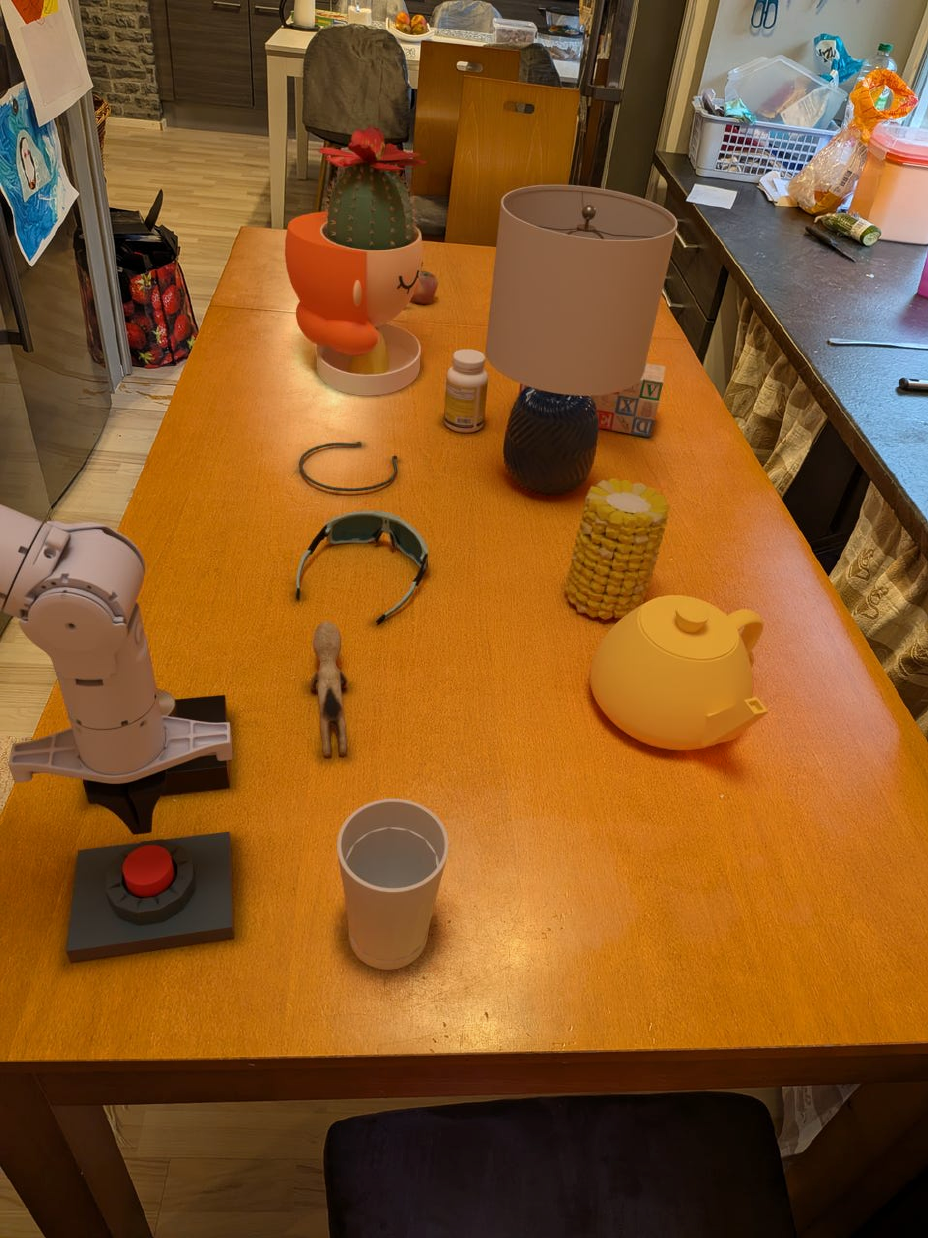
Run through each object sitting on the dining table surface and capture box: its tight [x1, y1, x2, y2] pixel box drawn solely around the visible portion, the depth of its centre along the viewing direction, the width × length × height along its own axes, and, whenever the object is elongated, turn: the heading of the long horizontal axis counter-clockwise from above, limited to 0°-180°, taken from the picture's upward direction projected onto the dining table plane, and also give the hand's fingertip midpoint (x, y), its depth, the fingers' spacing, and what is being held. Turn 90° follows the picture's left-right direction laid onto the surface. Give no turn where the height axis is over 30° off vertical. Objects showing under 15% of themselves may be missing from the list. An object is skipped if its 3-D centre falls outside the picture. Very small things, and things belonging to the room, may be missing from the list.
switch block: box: [65, 831, 235, 963], centre depth 71 cm, size 12×9×4 cm
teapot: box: [588, 594, 769, 751], centre depth 89 cm, size 20×19×13 cm
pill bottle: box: [443, 348, 489, 434], centre depth 133 cm, size 6×6×11 cm
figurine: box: [309, 621, 348, 758], centre depth 89 cm, size 4×4×15 cm
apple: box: [410, 270, 439, 305], centre depth 171 cm, size 6×8×6 cm
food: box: [564, 477, 670, 621], centre depth 103 cm, size 15×12×10 cm
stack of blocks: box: [518, 362, 666, 438], centre depth 138 cm, size 21×6×12 cm, turn 76°
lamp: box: [485, 184, 678, 497], centre depth 114 cm, size 20×20×37 cm
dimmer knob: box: [157, 688, 178, 718], centre depth 80 cm, size 4×4×4 cm
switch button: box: [123, 845, 174, 897], centre depth 70 cm, size 4×4×2 cm
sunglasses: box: [295, 509, 429, 625], centre depth 105 cm, size 14×15×5 cm
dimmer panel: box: [82, 694, 231, 805], centre depth 82 cm, size 12×9×3 cm
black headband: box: [298, 441, 398, 493], centre depth 124 cm, size 14×13×1 cm
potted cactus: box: [284, 125, 427, 397], centre depth 138 cm, size 22×22×35 cm
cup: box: [336, 798, 450, 971], centre depth 68 cm, size 8×8×12 cm
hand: (142, 823), depth 68 cm, fingers closed
